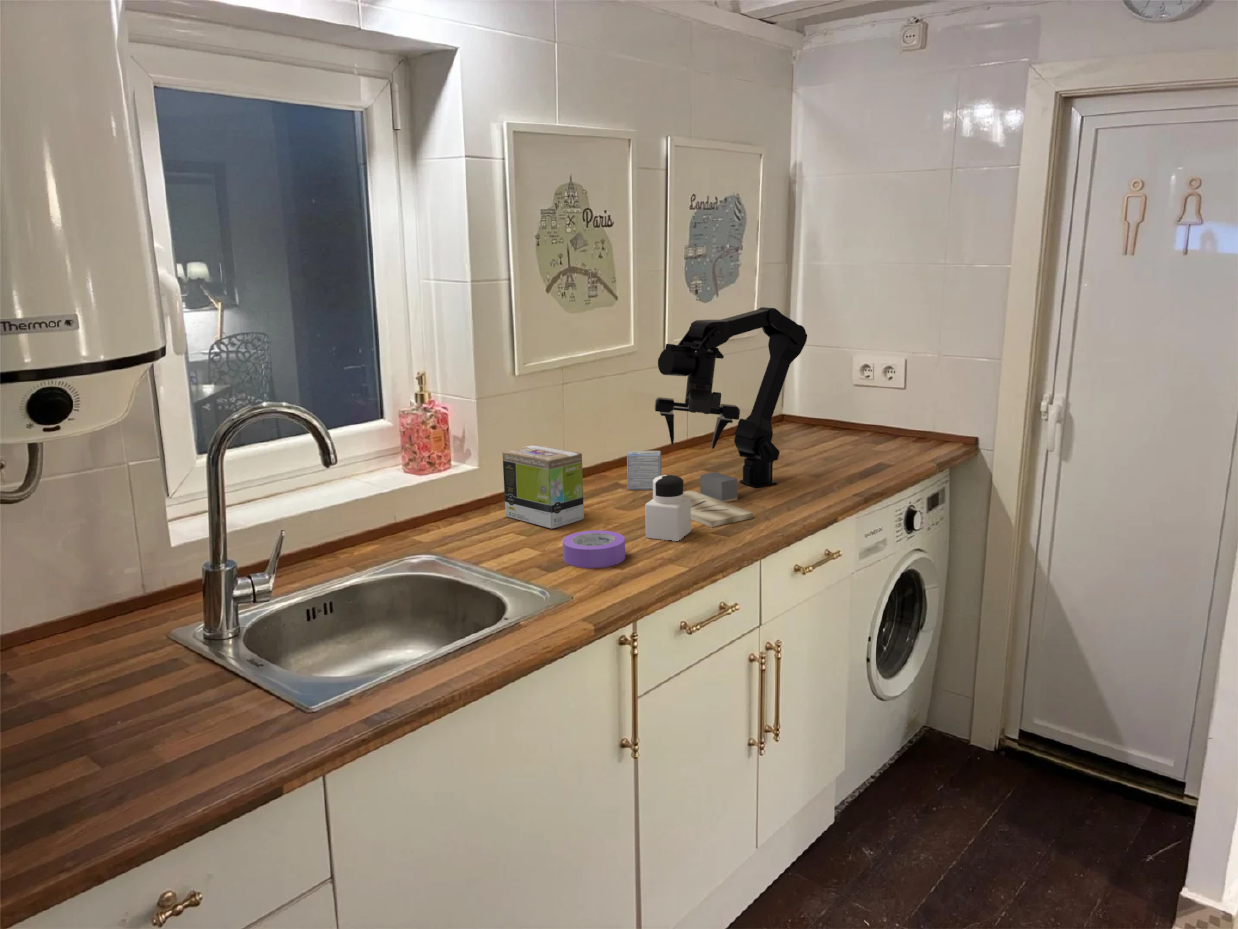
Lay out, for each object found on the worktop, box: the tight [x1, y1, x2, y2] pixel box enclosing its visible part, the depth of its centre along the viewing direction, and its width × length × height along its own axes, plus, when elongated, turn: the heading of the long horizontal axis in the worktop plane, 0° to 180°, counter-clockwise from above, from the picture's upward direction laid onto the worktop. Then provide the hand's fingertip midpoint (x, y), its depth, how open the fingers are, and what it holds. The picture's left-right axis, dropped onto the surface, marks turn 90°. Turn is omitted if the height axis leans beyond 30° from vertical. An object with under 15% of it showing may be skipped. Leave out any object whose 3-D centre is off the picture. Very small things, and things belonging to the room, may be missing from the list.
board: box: [651, 490, 754, 528], centre depth 205 cm, size 11×22×1 cm, turn 32°
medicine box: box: [626, 450, 662, 491], centre depth 223 cm, size 8×4×9 cm, turn 84°
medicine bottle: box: [644, 474, 692, 542], centre depth 187 cm, size 7×7×12 cm
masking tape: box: [562, 530, 626, 569], centre depth 176 cm, size 12×12×4 cm
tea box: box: [502, 444, 585, 529], centre depth 200 cm, size 15×10×15 cm
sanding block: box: [699, 471, 738, 503], centre depth 214 cm, size 4×8×5 cm, turn 31°
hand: (692, 446), depth 212 cm, fingers open, 9 cm apart
